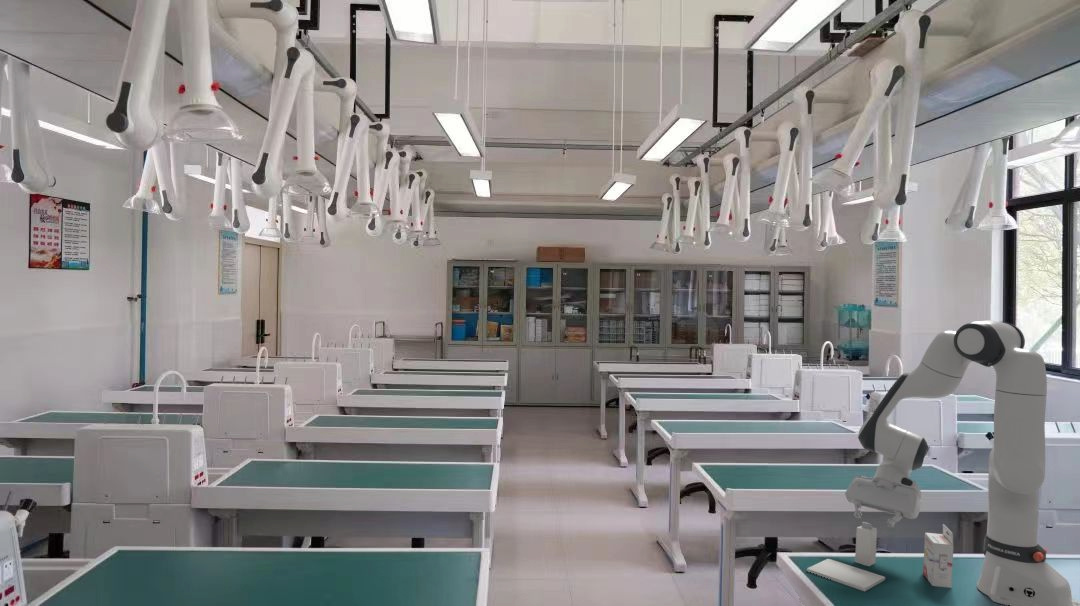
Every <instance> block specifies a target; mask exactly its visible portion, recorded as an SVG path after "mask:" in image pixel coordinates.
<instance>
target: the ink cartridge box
mask: <svg viewBox="0 0 1080 606" xmlns="http://www.w3.org/2000/svg"><path fill="white" fill-rule="evenodd" d="M923 548H924V550H923V567H922V570H923V571H922V574H923V576H925V578H926V579H927V581H928V583H930V585H931V587H939V588H947V589H948V588H949V589H951V588H952V586H953V585H952V583H953V566H954V565H953V564H954V563H953V562H954V533H953V532H952V531H951V530H950V529H949V528H948V527H947V526H946V525H945V524H944V523H943V524H942V533H935V532H934V533H932V532H924V547H923Z"/></svg>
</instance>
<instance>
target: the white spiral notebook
mask: <svg viewBox="0 0 1080 606" xmlns="http://www.w3.org/2000/svg"><path fill="white" fill-rule="evenodd" d="M807 571H808V573H810V572H811V573H810V574H813V573H814V574H813V575H816V574H817V575H816V576H819V577H821V576H822V578H824V577H825V579H827V578H828V579H827V580H830V579H831V580H830V581H833V582H836V583H838V584H842V585H845V586H847V587H850V588H854V589H856V590H859V591H862V592H866V591H868V590H870V589H871V588H874V587H875V586H877V585H878V584H880V583H882V582H884V581H885V580H886V577H885V576H884V575H879V574H876V573H874V572H871V571H869V570H864V569H861V568H859V567H856V566H852V565H850V564H846V563H843V562H841V561H837V560H834V559H831V558H826V559H824V560H822V561H820V562H818V563H815V564H814V565H811V566H808V567H807V568H806V572H807Z"/></svg>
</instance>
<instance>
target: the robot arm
mask: <svg viewBox="0 0 1080 606" xmlns="http://www.w3.org/2000/svg"><path fill="white" fill-rule="evenodd" d="M1025 341H1026V339H1025V336H1024V333H1023V331H1021V329H1020V328H1019V327H1017V326H1016V325H1015V324H1012V323H1010V322H1008V321H997V320H993V319H987V320H986V319H984V320H974V321H969V322H967V323H965V324H963V325H961V326H960V327H959V328H958V329H957V331H955V330H943V331H941V332H938V333H937V334H936V335H935V336H934V338H933V339H932V341H931V343H930V344H929V345H928V347H927V348H926V350H925V352H924V354H923V356H922V359H921V361H920V363H919V364H918V366H917V367H916V368H914V369H913V370H912V371H910V372H904V373H903V374H901V375H900V376H899V377H898V378H897V379H896V381H895V382H894V383H893V384H892V385H891V387H890V388H889V390H887V392H886V393H885V395H884V397H883V398H882V400H881V401H880V403H878V405H877V406H876V408H875V410H874V411H873V412H872V414H871V415H870V416H869V417H868V419H866V420H865V421H864V423H863V424H861V426H860V428H859V431H858V435H857V438H858V441H859V443H860V445H861V446H862V447H863V449H864V450H868V451H870V452H873V453H877V454H879V455H881V456H882V461H881V462H880V464H879V465H878V467H877V468H876V471H875V473H874V476H873V477H869V476H865V475H858V476H854V477H853V478H852V480H851V482H850V484H849V486H848V487H847V488H846V491H845V492H844V496H845V498H846V500H847V502H848V503H850V504H853V505H854V509H855V511H854V512H853V516H854V517H855V518H858V519H861V518H862V516H863V513H862V510H860V509H861V508H862V507H865V508H868V509H872V510H876V511H879V512H883V513H887V514H891V515H894V516H892V518H887V521H886V526H887V527H890V528H894V527H895V524H896V523H899V522H900V521H901V520H902V519H903V518H907V519H910V520H915V519H917V518H918V516H919V513H920V511H921V506H922V505H921V503H922V502H921V499H922V497H923V494H922V491H921V489H920V486H919V484H918V483H917V482H916V481H915V480H913V479H910V474H911V473H912V472H913V471H916V470H918V469H920V468H921V467H923V464H924V460H925V457H926V455H927V454H928V451H929V449H930V448H929V445H928V441H926V439H925V437H923V436H921V435H920V434H917V433H915V432H912V431H911V430H907V429H905V428H902V427H900V426H898V425H895V424H893V423H892V422H891V423H890V422H889V421H888V420H887V419H888V418H889V416H890V415H891V414H892V413H893V411H894V409H896V407H897V405H898V404H899V402H900V401H902V400H905V399H909V398H923V399H941V398H946V397H948V396H950V395H952V394H953V393H954V392H955V391H956V389H957V388H958V387H959V385H960V383H961V382H962V379H963V377H964V375H965V372H966V371H967V369H968V367H969V366H970V364H971V363H972V362H974V363H976V364H979V365H981V366H984V367H986V368H987V367H988V368H990V367H992V368H993V369H994V371H995V377H996V379H995V394H994V409H993V446H992V448H991V450H990V451H989V455H988V486H987V488H988V491H987V492H988V496H987V498H988V505H987V506H988V507H987V508H988V509H987V526H986V533H985V535H984V540H983V556H984V560H983V564H982V568H981V572H980V576H979V578H978V581H977V583H976V588H977V589H978V590H979V591H980V592H981V593H982V594H984V595H986V596H988V597H989V599H990V600H991V601H993V602H994V603H996V604H997V603H998V604H1001V605H1005V606H1008V605H1010V606H1080V601H1079V600H1076V599H1074V598H1073V596H1072V588H1071V585H1070V583H1069V580H1067V578H1065V577H1064V576H1063V575H1062V574H1060V572H1058V571H1057V570H1056V569H1055V568H1054V567H1053V566H1052V565H1050V564H1049V563H1048V562H1047V560H1046V559H1047V553H1048V548H1047V547H1045V548H1043V547H1042V546H1041V545H1040V544H1039V543H1038V538H1039V536H1038V534H1039V519H1040V512H1039V511H1040V510H1039V498H1038V497H1039V492H1038V491H1039V489H1040V488H1041V487H1042V485H1044V484H1043V483H1044V482H1045V478H1046V432H1045V431H1046V430H1045V429H1046V428H1045V424H1046V423H1045V421H1046V410H1047V408H1046V407H1047V394H1048V393H1047V390H1048V386H1047V385H1048V383H1047V370H1046V369H1047V368H1046V364H1045V359H1044V357H1043V356H1042V355H1041V354H1039V353H1038V352H1037V351H1034V350H1033V349H1032V350H1031V349H1028V348H1025V343H1026V342H1025Z"/></svg>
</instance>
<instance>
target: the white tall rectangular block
mask: <svg viewBox="0 0 1080 606" xmlns="http://www.w3.org/2000/svg"><path fill="white" fill-rule="evenodd" d="M877 535H878V528H877V527H874V526H873V523H870V522H866V521H862V522H861V525H859V526H857V527H856V535H855V552H854V553H855V554H854V555H855V556H854V563H857V564H861V565H863V566H867V567H871V566H872V565H874V564H876V559H877V558H876V556H877V540H878V539H877Z"/></svg>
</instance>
